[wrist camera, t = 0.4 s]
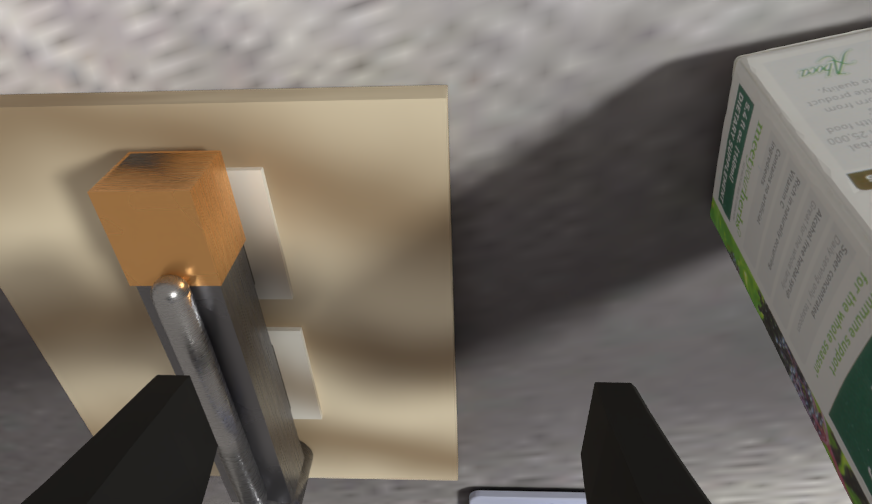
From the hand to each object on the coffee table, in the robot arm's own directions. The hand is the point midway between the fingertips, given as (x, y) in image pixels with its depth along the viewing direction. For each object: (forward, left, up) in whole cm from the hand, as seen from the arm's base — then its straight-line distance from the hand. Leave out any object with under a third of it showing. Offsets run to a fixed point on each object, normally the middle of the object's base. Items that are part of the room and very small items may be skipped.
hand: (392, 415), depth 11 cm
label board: (-6, +7, -9) cm, 13 cm away
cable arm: (-6, +7, -8) cm, 12 cm away
